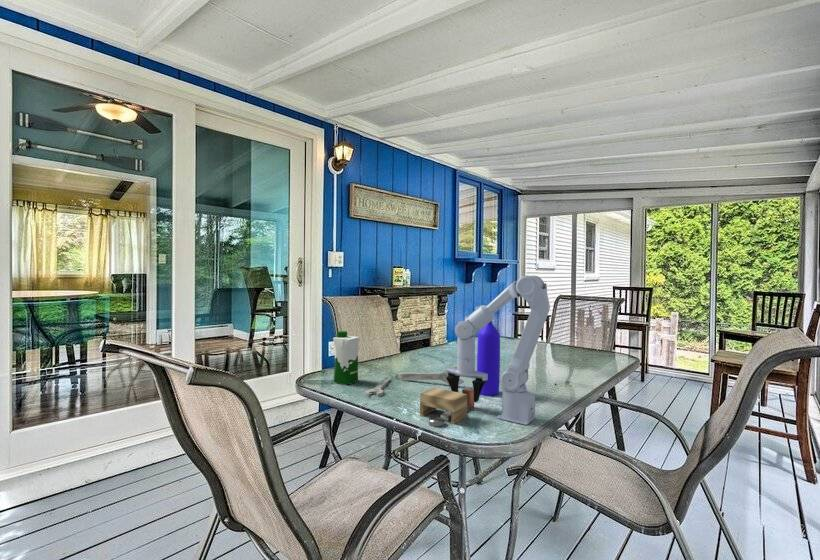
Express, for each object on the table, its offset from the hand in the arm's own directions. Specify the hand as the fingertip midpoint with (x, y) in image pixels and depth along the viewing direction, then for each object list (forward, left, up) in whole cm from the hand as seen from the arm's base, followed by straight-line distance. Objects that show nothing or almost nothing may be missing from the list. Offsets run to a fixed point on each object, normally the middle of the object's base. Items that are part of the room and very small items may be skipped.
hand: (465, 399), depth 137 cm
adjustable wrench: (+37, -2, -4) cm, 37 cm away
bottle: (+2, -21, -3) cm, 22 cm away
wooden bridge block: (+2, +11, -3) cm, 11 cm away
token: (0, +18, -4) cm, 18 cm away
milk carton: (+54, 0, -3) cm, 54 cm away
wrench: (+26, -19, -4) cm, 33 cm away
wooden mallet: (0, +5, -3) cm, 6 cm away
